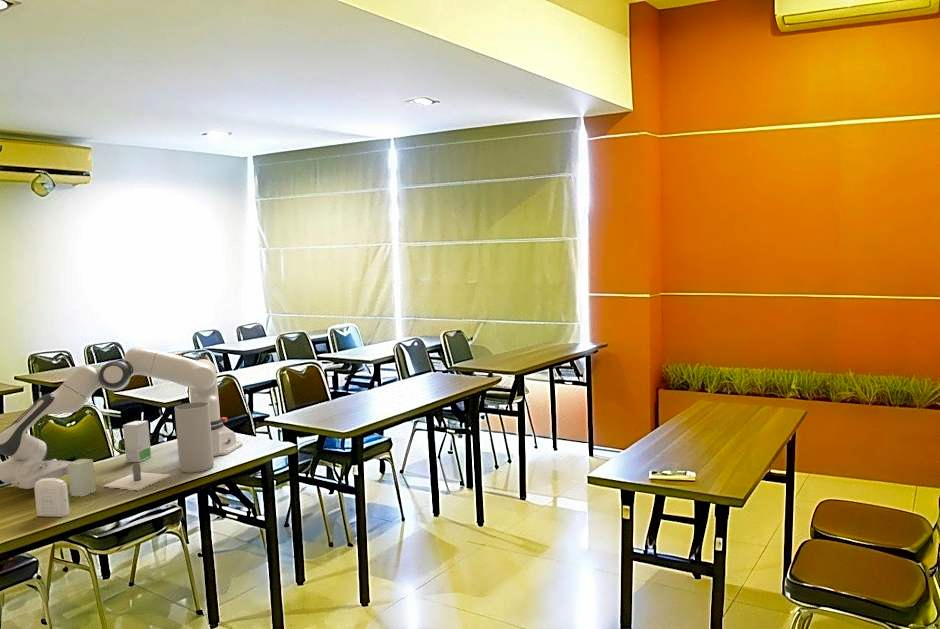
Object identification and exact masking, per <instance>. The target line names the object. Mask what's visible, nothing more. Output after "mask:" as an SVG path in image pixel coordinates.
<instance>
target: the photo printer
mask: <svg viewBox="0 0 940 629" xmlns="http://www.w3.org/2000/svg"><path fill="white" fill-rule="evenodd" d="M33 488H34V498H35V499H34V500H35V508H36V510H35V511H36V516H37V517H53V518H54V517H55V518H57V517H58V518H59V517H60V518H61V517H62V518H63V517H67V516H68V515H69V513H70V502H69V500H70V499H69V491H68V490H69V489H68V483H67V482H66V481H65V480H64V479H60V478H57V479H56V478H46V479H42V480H39V481H37V482H36V483H35V486H34V487H33Z"/></svg>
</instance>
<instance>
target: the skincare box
mask: <svg viewBox="0 0 940 629" xmlns="http://www.w3.org/2000/svg"><path fill="white" fill-rule="evenodd" d="M122 429H123V430H122V431H123V440H124V448H125V449H124V450H125V451H124V452H125V461H128V462H127V463H140V462H142V461H145V460H147V458H148V459H149V457H150V458H151V457H152V451H151V450H152V449H151V442H150V441H151V440H150V429H149V421H148V420H134V421H131V422H127V423H125V424H123V425H122Z"/></svg>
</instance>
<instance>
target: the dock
mask: <svg viewBox="0 0 940 629" xmlns="http://www.w3.org/2000/svg"><path fill="white" fill-rule="evenodd" d="M168 477H169V478H171V474H167V473H166V474H165V473H164V474H163V473H154V472H153V473H152V472H142V471H141V464H140V462H133V464H132V473H131V474H129V475H126V476H124V477H121V478H119V479H115V480H114V481H112V482H108V483H107V484H103V488H104V487H109V488H108V489H113V488H120V489H119V490H123V489H128V490H127V491H134V490H137V491H136V492H138V490H139V491H142V490H143V488H144V489H146V488H148V487H150V486H149V485H151V486H153V485H155V484H157V483H159V482H158V481H160V482H161V480H162V481H164V480H166V478H167V479H169V478H168ZM163 479H164V480H163ZM156 482H157V483H156ZM154 483H155V484H154ZM152 484H153V485H152ZM147 486H148V487H147ZM145 487H146V488H145Z"/></svg>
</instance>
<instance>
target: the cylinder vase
mask: <svg viewBox="0 0 940 629" xmlns="http://www.w3.org/2000/svg"><path fill="white" fill-rule="evenodd" d="M174 417H175V419H174V420H175V429H176V439H177V440H176V441H177V452H178V453H177V454H178V465H179V471H180V472H182V473H185V474H186V473H187V474H194V473H195V474H196V473H202V472H205V471H208V470H210V469H211V468H213V467H214V465H215V463H214V456H213V448H212V436H211V423H210V411H209V403H207V402H193V403H191V402H186V403H182V404H178V405H176V406H174Z"/></svg>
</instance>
